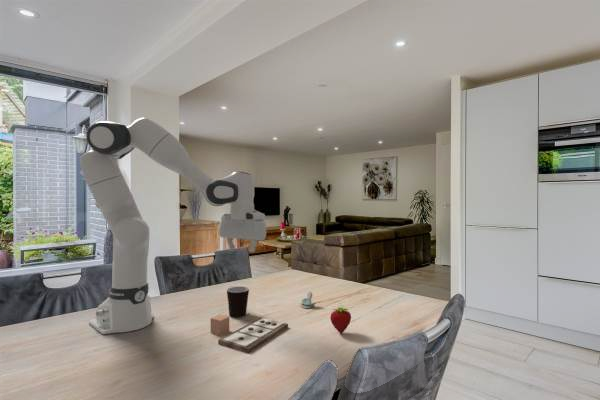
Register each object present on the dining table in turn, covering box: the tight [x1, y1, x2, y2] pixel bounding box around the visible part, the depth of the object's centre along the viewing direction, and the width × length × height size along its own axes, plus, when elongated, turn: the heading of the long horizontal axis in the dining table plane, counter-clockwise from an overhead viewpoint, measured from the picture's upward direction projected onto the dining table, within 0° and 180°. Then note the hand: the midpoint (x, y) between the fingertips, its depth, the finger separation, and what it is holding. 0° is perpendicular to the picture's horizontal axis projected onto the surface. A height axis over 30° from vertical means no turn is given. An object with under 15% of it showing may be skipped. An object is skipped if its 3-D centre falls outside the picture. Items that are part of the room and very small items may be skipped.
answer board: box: [218, 317, 289, 354], centre depth 105 cm, size 12×22×2 cm, turn 151°
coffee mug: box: [226, 285, 250, 319], centre depth 125 cm, size 12×9×10 cm
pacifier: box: [299, 291, 317, 309], centre depth 134 cm, size 7×6×6 cm
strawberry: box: [329, 302, 352, 334], centre depth 107 cm, size 6×8×10 cm
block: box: [210, 313, 230, 337], centre depth 107 cm, size 4×4×5 cm
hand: (241, 250), depth 119 cm, fingers open, 8 cm apart
